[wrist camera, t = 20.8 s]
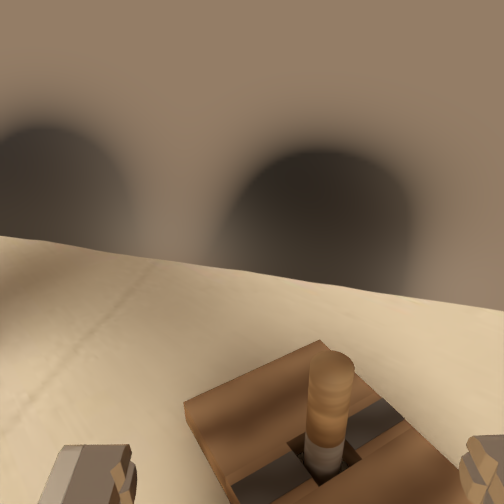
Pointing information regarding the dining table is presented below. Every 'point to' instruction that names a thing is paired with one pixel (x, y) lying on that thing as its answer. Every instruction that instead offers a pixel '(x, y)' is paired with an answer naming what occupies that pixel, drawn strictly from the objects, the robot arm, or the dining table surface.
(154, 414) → the dining table surface
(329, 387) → the tall two-tone tube
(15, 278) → the dining table surface
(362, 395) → the board
